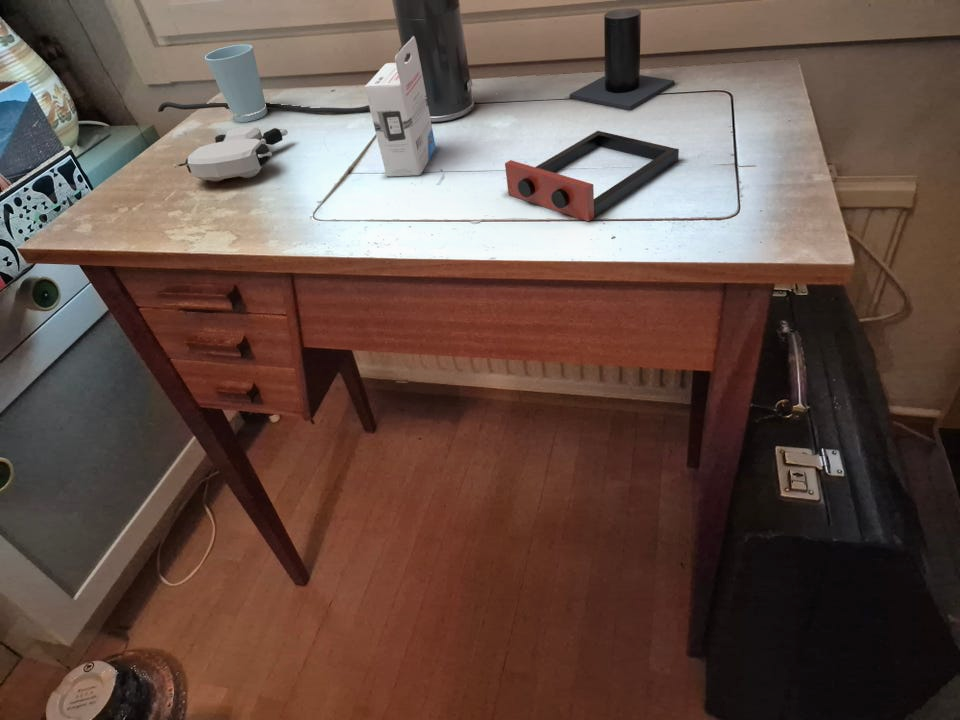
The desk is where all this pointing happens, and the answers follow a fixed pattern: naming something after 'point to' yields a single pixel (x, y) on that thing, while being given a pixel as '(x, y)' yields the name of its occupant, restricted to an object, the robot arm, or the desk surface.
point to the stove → (577, 194)
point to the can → (622, 50)
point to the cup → (238, 80)
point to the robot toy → (233, 154)
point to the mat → (622, 100)
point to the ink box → (401, 114)
